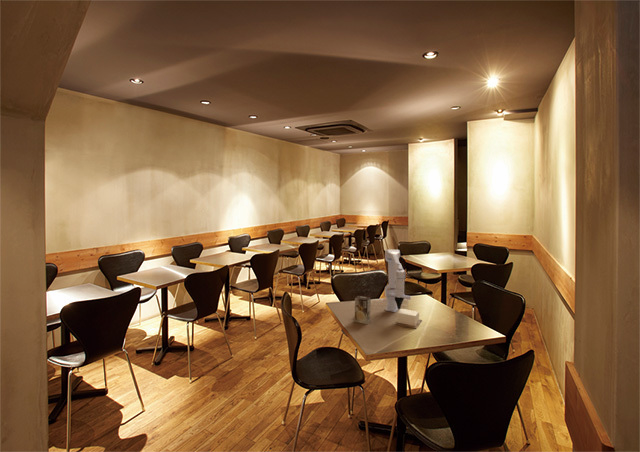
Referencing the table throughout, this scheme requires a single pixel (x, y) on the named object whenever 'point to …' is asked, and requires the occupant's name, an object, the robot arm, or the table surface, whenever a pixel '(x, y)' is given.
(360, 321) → the coffee box
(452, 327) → the table surface
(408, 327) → the board
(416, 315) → the carton
